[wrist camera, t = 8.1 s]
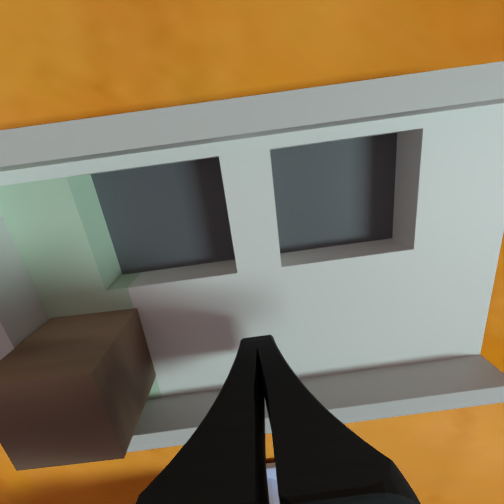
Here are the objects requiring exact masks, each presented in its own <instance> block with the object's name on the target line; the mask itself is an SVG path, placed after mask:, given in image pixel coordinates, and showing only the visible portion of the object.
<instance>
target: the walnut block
mask: <svg viewBox="0 0 504 504" xmlns="http://www.w3.org/2000/svg"><path fill="white" fill-rule="evenodd" d="M155 378H156V373H155V370H154V366H153V363H152V359H151V356H150V352H149V349H148V345H147V341H146V338H145V334H144V331H143V327H142V324H141V320H140V317H139V313H138V310H137V308H134V309H125V310H116V311H107V312H98V313H90V314H81V315H72V316H63V317H54V318H50V319H49V320H48V321H47V322H46V323H44V324H43V325H42V326H41V327H40V328H38V329H37V330H36V331H35V332H34V333H32V334H31V335H30V336H29V337H28V338H26V339H25V340H24V341H23V342H22V343H20V344H19V345H18V346H17V347H16V348H14V349H13V350H12V351H11V352H10V353H8V354H7V355H6V356H5V357H4V358H2V359H1V360H0V443H1V445H2V447H3V448H4V450H5V452H6V453H7V455H8V457H9V458H10V460H11V462H12V464H13V465H14V467H15V469H16V470H17V471H18V470H27V469H35V468H44V467H53V466H61V465H70V464H78V463H87V462H96V461H104V460H113V459H122V458H124V457H125V455H126V452H127V449H128V447H129V444H130V442H131V439H132V437H133V434H134V432H135V429H136V426H137V424H138V421H139V419H140V416H141V414H142V411H143V408H144V406H145V403H146V401H147V398H148V396H149V393H150V390H151V388H152V385H153V383H154V380H155Z"/></svg>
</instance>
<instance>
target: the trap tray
mask: <svg viewBox="0 0 504 504" xmlns="http://www.w3.org/2000/svg"><path fill="white" fill-rule="evenodd" d="M503 231H504V61H502V62H495V63H488V64H480V65H473V66H466V67H458V68H451V69H444V70H437V71H429V72H422V73H415V74H407V75H400V76H393V77H386V78H378V79H371V80H364V81H356V82H349V83H342V84H335V85H327V86H320V87H313V88H305V89H298V90H291V91H284V92H276V93H269V94H262V95H254V96H247V97H240V98H233V99H225V100H218V101H211V102H203V103H196V104H189V105H181V106H174V107H167V108H160V109H152V110H145V111H138V112H130V113H123V114H116V115H109V116H101V117H94V118H87V119H79V120H72V121H65V122H58V123H50V124H43V125H36V126H28V127H21V128H14V129H7V130H0V360H1V359H2V358H4V357H5V356H6V355H7V354H8V353H10V352H11V351H12V350H13V349H14V348H16V347H17V346H18V345H19V344H20V343H22V342H23V341H24V340H25V339H26V338H28V337H29V336H30V335H31V334H32V333H34V332H35V331H36V330H37V329H38V328H40V327H41V326H42V325H43V324H44V323H46V322H47V321H48V320H49V319H50V318H54V317H63V316H72V315H81V314H90V313H98V312H107V311H116V310H125V309H134V308H137V310H138V313H139V317H140V320H141V324H142V327H143V331H144V334H145V338H146V341H147V345H148V349H149V352H150V356H151V359H152V363H153V366H154V370H155V373H156V378H155V380H154V383H153V385H152V388H151V390H150V393H149V396H148V398H147V401H146V403H145V406H144V408H143V411H142V414H141V416H140V419H139V421H138V424H137V426H136V429H135V432H134V434H133V437H132V439H131V442H130V444H129V447H128V449H127V452H133V451H141V450H148V449H156V448H163V447H171V446H178V445H185V443H186V442H187V441H188V440H189V438H190V437H191V436H192V434H193V433H194V432H195V430H196V429H197V428H198V426H199V425H200V423H201V422H202V420H203V419H204V417H205V416H206V414H207V413H208V411H209V410H210V408H211V406H212V405H213V403H214V401H215V400H216V398H217V396H218V394H219V393H220V391H221V389H222V387H223V385H224V383H225V381H226V379H227V377H228V374H229V372H230V370H231V367H232V365H233V363H234V360H235V358H236V355H237V352H238V349H239V345H240V341H241V340H242V339H243V338H249V337H256V336H264V335H272V336H273V338H274V340H275V343H276V345H277V347H278V349H279V350H280V352H281V354H282V355H283V357H284V359H285V360H286V362H287V363H288V364H289V366H290V367H291V369H292V370H293V372H294V373H295V374H296V376H297V377H298V378H299V379H300V381H301V382H302V383H303V384H304V385H305V387H306V388H307V389H308V390H309V391H310V392H311V393H312V394H313V396H314V397H315V398H316V399H317V400H318V401H319V402H320V403H321V404H322V405H323V406H324V407H325V408H326V409H327V410H328V411H329V412H330V413H332V414H333V415H334V416H335V417H336V418H337V419H338V420H340V421H341V422H342V423H351V422H358V421H366V420H373V419H381V418H388V417H396V416H403V415H411V414H418V413H426V412H434V411H441V410H449V409H456V408H464V407H471V406H479V405H486V404H494V403H501V402H504V374H503V373H502V372H501V371H500V370H499V369H497V368H496V367H495V366H494V365H492V364H491V363H490V362H489V361H487V360H486V359H485V358H484V357H483V356H481V355H480V352H481V347H482V341H483V336H484V331H485V326H486V320H487V315H488V310H489V305H490V299H491V294H492V289H493V284H494V278H495V273H496V268H497V263H498V257H499V252H500V247H501V242H502V236H503ZM268 433H272V431H271V426H270V421H269V416H268V412H267V407H266V402H265V434H268Z"/></svg>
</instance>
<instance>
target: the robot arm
mask: <svg viewBox="0 0 504 504" xmlns="http://www.w3.org/2000/svg"><path fill="white" fill-rule="evenodd" d="M265 402H266V407H267V412H268V416H269V421H270V426H271V431H272V438H273V447H274V457H275V462H274V463H266V454H265ZM136 504H420V502H419V500H418V498H417V496H416V495H415V493H414V491H413V490H412V488H411V487H410V485H409V484H408V482H407V481H406V479H405V478H404V476H403V475H402V473H401V472H400V471H399V469H398V468H397V466H396V465H395V464H394V462H393V461H392V460H390V459H389V458H388V457H386V456H385V455H383V454H382V453H380V452H379V451H377V450H376V449H375V448H373V447H372V446H371V445H369V444H368V443H366V442H365V441H364V440H362V439H361V438H360V437H359V436H357V435H356V434H355V433H354V432H352V431H351V430H350V429H349V428H347V427H346V426H345V425H344V424H343V423H342V422H341V421H340V420H338V419H337V418H336V417H335V416H334V415H333V414H332V413H330V412H329V411H328V410H327V409H326V408H325V407H324V406H323V405H322V404H321V403H320V402H319V401H318V400H317V399H316V398H315V397H314V396H313V394H312V393H311V392H310V391H309V390H308V389H307V388H306V387H305V385H304V384H303V383H302V382H301V381H300V379H299V378H298V377H297V376H296V374H295V373H294V372H293V370H292V369H291V367H290V366H289V364H288V363H287V362H286V360H285V359H284V357H283V355H282V354H281V352H280V350H279V349H278V347H277V345H276V343H275V340H274V338H273V336H272V335H264V336H256V337H249V338H243V339H242V340H241V341H240V345H239V349H238V352H237V355H236V358H235V360H234V363H233V365H232V367H231V370H230V372H229V374H228V377H227V379H226V381H225V383H224V385H223V387H222V389H221V391H220V393H219V394H218V396H217V398H216V400H215V401H214V403H213V405H212V406H211V408H210V410H209V411H208V413H207V414H206V416H205V417H204V419H203V420H202V422H201V423H200V425H199V426H198V428H197V429H196V430H195V432H194V433H193V434H192V436H191V437H190V438H189V440H188V441H187V442H186V443H185V445H184V446H183V447H182V448H181V450H180V451H179V452H178V453H177V454H176V456H175V457H174V458H173V459H172V461H171V462H170V463H169V464H168V465H167V466H166V467H165V468H164V470H163V471H162V472H161V473H160V474H159V475H158V476H157V477H156V478H155V479H154V480H153V481H152V482H151V483H150V484H149V486H148V487H147V488H146V489H145V490H144V491H143V492H142V493H141V494H140V495H139V497H138V500H137V502H136Z"/></svg>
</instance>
